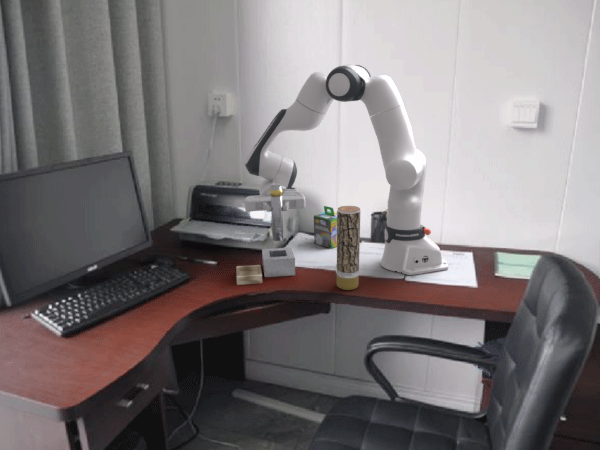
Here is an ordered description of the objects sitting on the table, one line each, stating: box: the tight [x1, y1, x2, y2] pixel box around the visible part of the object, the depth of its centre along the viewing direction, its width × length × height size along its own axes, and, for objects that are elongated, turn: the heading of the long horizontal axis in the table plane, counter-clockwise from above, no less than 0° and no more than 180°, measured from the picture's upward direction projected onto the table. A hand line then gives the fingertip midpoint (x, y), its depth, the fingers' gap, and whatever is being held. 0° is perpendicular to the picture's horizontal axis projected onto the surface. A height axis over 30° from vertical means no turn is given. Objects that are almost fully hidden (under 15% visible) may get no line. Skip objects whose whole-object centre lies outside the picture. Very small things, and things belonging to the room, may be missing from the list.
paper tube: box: [336, 205, 361, 291], centre depth 152 cm, size 7×7×25 cm
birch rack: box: [235, 264, 263, 286], centre depth 162 cm, size 8×9×3 cm
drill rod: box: [270, 185, 284, 242], centre depth 162 cm, size 4×4×18 cm
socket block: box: [261, 247, 296, 278], centre depth 167 cm, size 10×10×6 cm
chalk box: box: [313, 205, 337, 249], centre depth 190 cm, size 9×9×15 cm
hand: (277, 209), depth 161 cm, fingers closed on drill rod, 4 cm apart
